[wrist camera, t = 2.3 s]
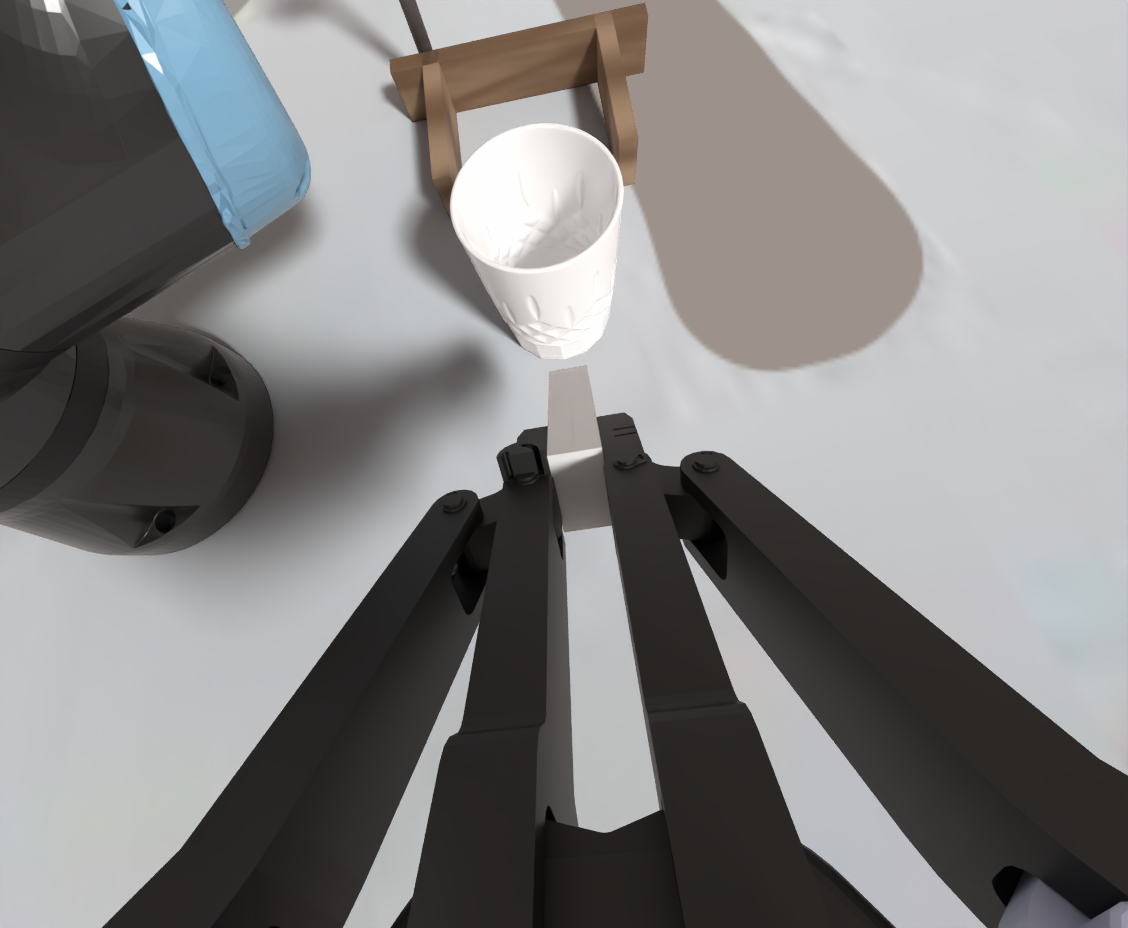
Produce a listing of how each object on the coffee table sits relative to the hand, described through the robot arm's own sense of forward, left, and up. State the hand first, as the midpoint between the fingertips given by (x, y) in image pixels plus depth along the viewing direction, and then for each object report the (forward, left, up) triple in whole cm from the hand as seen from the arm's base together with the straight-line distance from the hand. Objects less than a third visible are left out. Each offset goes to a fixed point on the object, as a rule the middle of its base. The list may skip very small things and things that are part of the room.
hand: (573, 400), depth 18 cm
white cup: (-4, +9, -10) cm, 14 cm away
